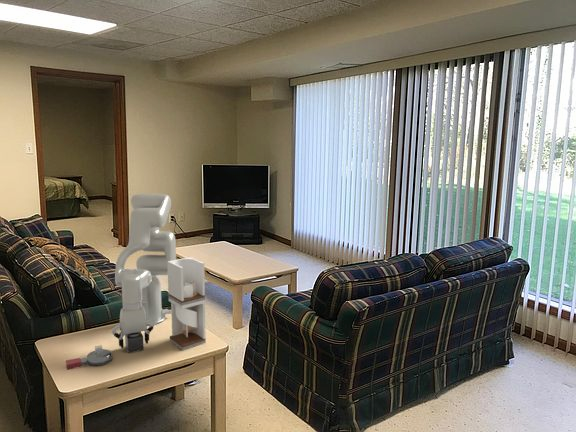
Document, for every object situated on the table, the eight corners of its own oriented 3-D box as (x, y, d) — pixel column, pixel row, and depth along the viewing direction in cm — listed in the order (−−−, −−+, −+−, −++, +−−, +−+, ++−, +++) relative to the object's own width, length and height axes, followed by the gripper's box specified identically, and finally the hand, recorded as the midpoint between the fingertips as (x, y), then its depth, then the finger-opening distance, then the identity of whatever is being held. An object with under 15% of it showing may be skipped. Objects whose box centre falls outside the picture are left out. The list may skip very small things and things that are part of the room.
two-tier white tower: (169, 340, 195) (167, 261, 189) (191, 333, 202) (190, 257, 196) (183, 350, 187) (180, 267, 180) (205, 342, 194) (204, 263, 187)
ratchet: (109, 353, 183) (109, 340, 182) (113, 362, 176) (113, 349, 175) (65, 362, 175) (64, 348, 174) (67, 373, 168) (66, 358, 167)
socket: (140, 343, 192) (139, 328, 190) (143, 349, 186) (143, 334, 185) (125, 347, 189) (124, 331, 187) (128, 353, 184) (127, 337, 182)
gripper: (152, 298, 192) (153, 337, 195) (108, 305, 183) (110, 345, 186) (156, 304, 185) (158, 344, 188) (111, 312, 177) (113, 353, 180)
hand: (134, 344), depth 187 cm, fingers open, 9 cm apart
